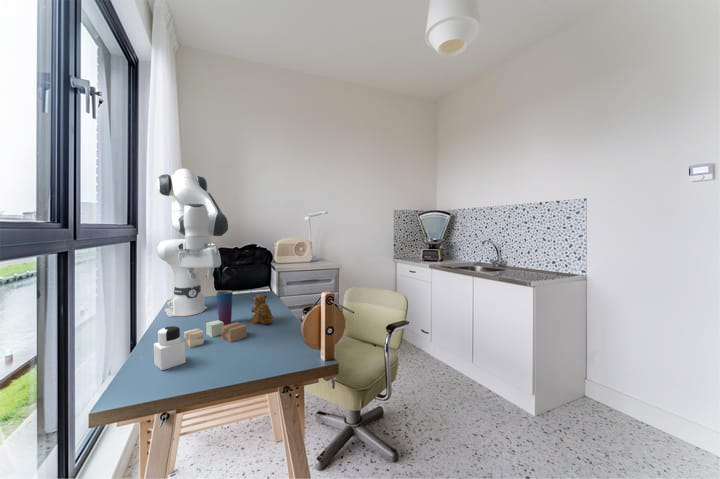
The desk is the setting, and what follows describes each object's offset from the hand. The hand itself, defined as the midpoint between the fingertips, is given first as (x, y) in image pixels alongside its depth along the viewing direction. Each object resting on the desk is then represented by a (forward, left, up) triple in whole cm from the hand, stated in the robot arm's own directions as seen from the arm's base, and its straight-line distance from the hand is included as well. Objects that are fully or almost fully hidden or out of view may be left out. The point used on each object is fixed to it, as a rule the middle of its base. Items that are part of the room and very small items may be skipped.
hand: (201, 279), depth 116 cm
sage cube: (-3, +6, -25) cm, 26 cm away
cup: (-12, +15, -25) cm, 31 cm away
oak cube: (+1, -4, -25) cm, 25 cm away
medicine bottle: (+12, -16, -25) cm, 32 cm away
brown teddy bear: (0, +27, -25) cm, 37 cm away
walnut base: (+7, +9, -25) cm, 27 cm away
